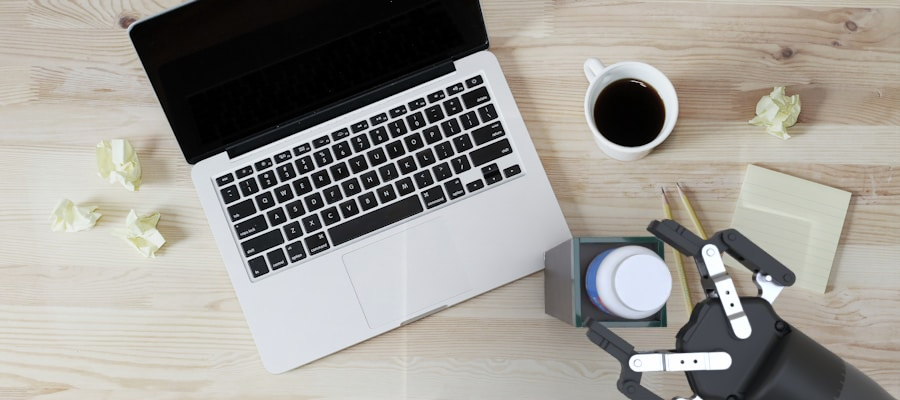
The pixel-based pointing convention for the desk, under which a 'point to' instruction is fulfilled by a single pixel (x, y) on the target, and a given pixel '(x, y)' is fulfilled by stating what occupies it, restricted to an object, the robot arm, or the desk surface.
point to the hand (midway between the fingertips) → (618, 272)
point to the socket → (576, 280)
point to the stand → (561, 283)
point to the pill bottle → (628, 282)
